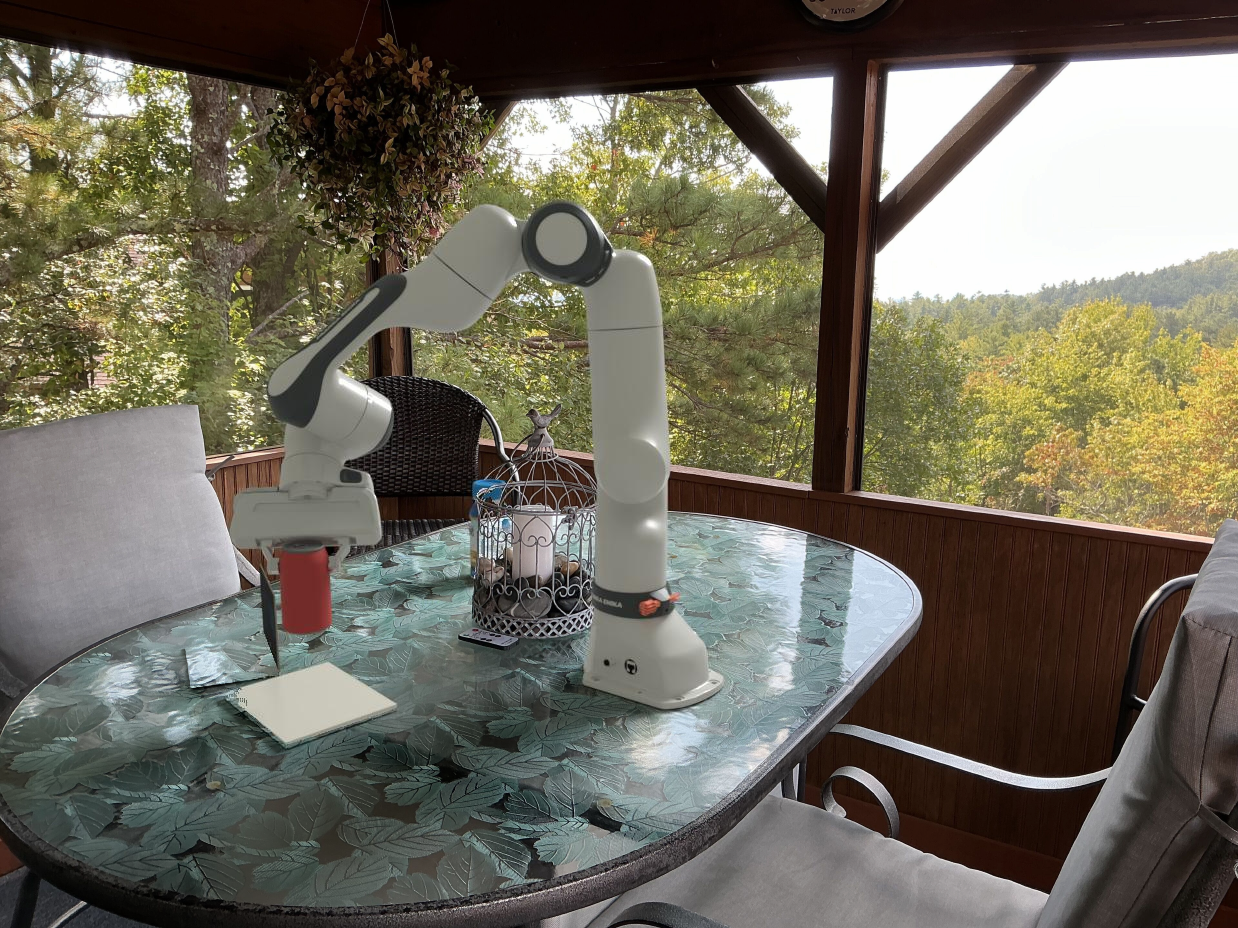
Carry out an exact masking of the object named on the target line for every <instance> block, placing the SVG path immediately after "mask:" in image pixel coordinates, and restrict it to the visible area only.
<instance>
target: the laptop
mask: <svg viewBox="0 0 1238 928" xmlns="http://www.w3.org/2000/svg"><path fill="white" fill-rule="evenodd" d="M259 581H260V582H259V584H260V597H261V598H260V599H261V613H262V614H261V615H262V629H263V634H265V637H266V639H267V642H268V645H269V647H270V650H271V653H272V655H273V658H274V661H275V663H276V666H277V669H278V670H280V671H281V665H280V662H281V661H280V648H279V631H278V617H277V616H278V614H277V600H276V594H275V592H274V590H273V588H272V586H271V583H270V582H269V579H268V576H267V574H266V572H265V570H264V568H263V566H262V563H259Z"/></svg>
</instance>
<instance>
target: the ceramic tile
mask: <svg viewBox="0 0 1238 928" xmlns="http://www.w3.org/2000/svg"><path fill="white" fill-rule="evenodd" d="M240 688H241V689H242V690H240V689H239V690H238V692H239V694H238V692H237V694H236V692H235V694H236V695H237V698H239V702H238V705H239V706H240V707H242V708H245V709H244V710H245V711H247V712H248V713H249V714H250V715H252V716H253V717H254V718H256V719H257V720H258V721H259V722H260V723H261V724H262V725H263V726H265V727H266V728H268V730H270V732H272V733H273V734H274V735H275V736H277V737H278V738H279V739H280V740H281V741H282V742H283V743H285V744H286V745H287V744H291V743H293V742H297V741H300V740H304V739H306V738H309V737H314V736H317V735H319V734H322V733H325V732H328V731H331V730H334V729H337V728H340V727H344V726H347V725H350V724H352V723H355V722H358V721H362V720H364V719H367V718H371V717H373V716H376V715H380V714H382V713H384V712H387V711H390V710H392V709H395V708H397V709H398V703H396V702H394V701H393V700H392V699H389V698H388V697H386V696H385V695H383V694H381V693H380V692H378V691H376V690H375V689H373V688H371V687H370V686H368V685H367V684H365V683H364V682H362V681H361V680H358V679H357V678H355V677H354V676H352V675H350V674H349V673H347V672H346V671H344V670H342V669H341V668H339V667H337V666H336V665H334V664H333V663H331V662H329V661H326V662H323V663H319V664H316V665H313V666H310V667H307V668H303V669H300V670H296V671H293V672H290V673H285V674H281V675H279V676H275V677H271V678H267V679H265V680H262V681H258V682H256V683H252V684H248V685H244V686H241V687H240ZM226 695H227V694H226ZM228 697H229V694H228ZM229 698H234V697H231V695H230V697H229ZM235 698H236V697H235ZM240 698H241V702H240ZM242 698H243V702H242ZM244 698H245V703H244ZM246 700H247V706H246Z"/></svg>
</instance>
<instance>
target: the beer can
mask: <svg viewBox="0 0 1238 928" xmlns="http://www.w3.org/2000/svg"><path fill="white" fill-rule="evenodd" d="M325 547H326V546H325V544H324V543H323V542H321V541H317V540H301V541H294V542H290V543H287V544H285V545H284V546H283V547H282V548H281V549H282V551H281V554H280V555H279V559H280V560H279V574H278V575H279V585H280V586H279V587H280V588H279V591H280V608H281V609H280V610H281V625H282V629H283V631H285V632H286V633H288V634H291V635H294V636H310V635H317V634H319V633H322V632H325V631H326V630H327V629H329V628H330V627H331V625H332V624H333V613H332V611H333V610H332V590H331V589H332V587H331V583H332V582H331V572H329V569H328V563H329V556H330V555H329V553H328V552H327V551H328V550H327V549H326V548H325Z"/></svg>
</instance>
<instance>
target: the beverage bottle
mask: <svg viewBox="0 0 1238 928" xmlns="http://www.w3.org/2000/svg"><path fill="white" fill-rule="evenodd" d="M504 484H506V482H505V480H500V479H495V478H494V479H493V478H491V479H490V478H489V479H486V478H485V479H479V480H475V481H473V482H472V489H471V490H472V499H473V500H474V503H473V504H472V506H471V509H470V510H469V513H468V514H469V515H468V517H469V519H470V523H469V525H468V532H469V547H470V549H469V551H470V552H469V553H470V555H469V556H470V557H469V558H470V572H469V573H470V577H471V579H472V578H474V575H475V567H476V559H477V531H478V513H477V505H476V495H477V493H478V492H479V490H480V489H482V488H489V487H491V486H493V485H504ZM506 485H507V484H506ZM505 492H506V493H507V488H506V489H505ZM501 494H502V489H501V488H495V489H493V490H492V492H491V493H485V495H484V496H483V498H484V499H486V498H489V497H491V499H492V502H494V503H495V504H498V503H499V501H500V498H501ZM506 497H507V494H506V495H505V498H506ZM504 505H506V506H507V507H508V505H507V503H505V501H504ZM511 527H512V526H511V522H510V521H509V519H504V520H503V521H502V529H503V531H505V532H506V533H510V534H511V531H512V528H511ZM494 532H495V527H494ZM492 546H494V540H493V541H492ZM501 550H503V547H502V546H501ZM481 554H482V556H484V555H485V541H484V539H482V541H481Z"/></svg>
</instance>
